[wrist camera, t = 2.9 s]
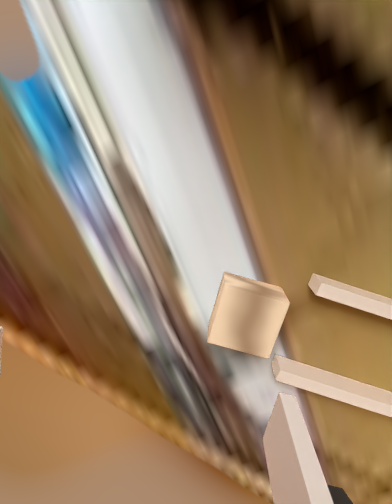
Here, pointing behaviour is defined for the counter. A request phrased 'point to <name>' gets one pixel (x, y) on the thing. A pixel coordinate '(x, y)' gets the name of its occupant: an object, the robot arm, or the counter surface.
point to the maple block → (247, 315)
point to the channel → (332, 382)
